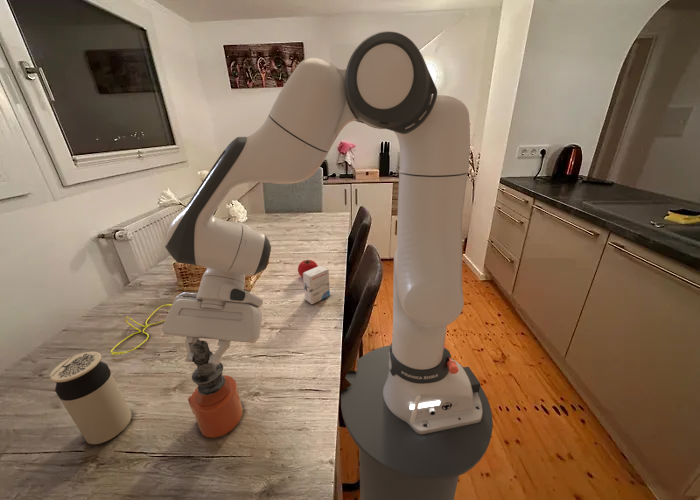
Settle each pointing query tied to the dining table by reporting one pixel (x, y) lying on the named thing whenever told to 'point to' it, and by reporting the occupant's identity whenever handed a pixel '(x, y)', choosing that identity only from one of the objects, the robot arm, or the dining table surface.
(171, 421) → the dining table surface
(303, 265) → the tomato
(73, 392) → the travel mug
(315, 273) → the ink box
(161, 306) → the yellow rope bow
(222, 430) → the coffee cup
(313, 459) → the dining table surface
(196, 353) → the grey chess piece
